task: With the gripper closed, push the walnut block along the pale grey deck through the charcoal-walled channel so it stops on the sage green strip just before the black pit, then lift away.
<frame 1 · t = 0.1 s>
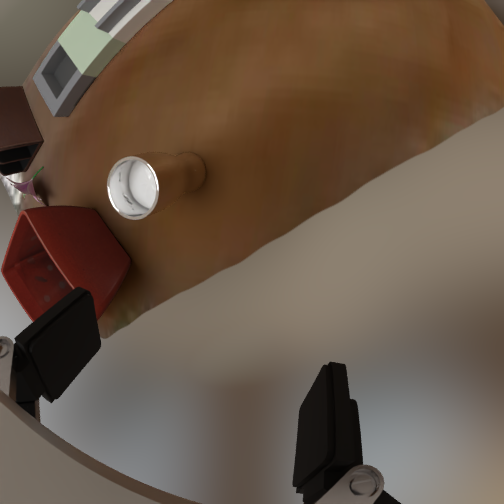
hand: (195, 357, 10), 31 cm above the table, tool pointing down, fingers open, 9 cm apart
beer glass: (187, 172, 39), on the table
lily: (41, 184, 44), on the table
channel deck: (135, 1, 28), on the table
plant pot: (97, 251, 47), on the table
letter holder: (23, 126, 40), on the table
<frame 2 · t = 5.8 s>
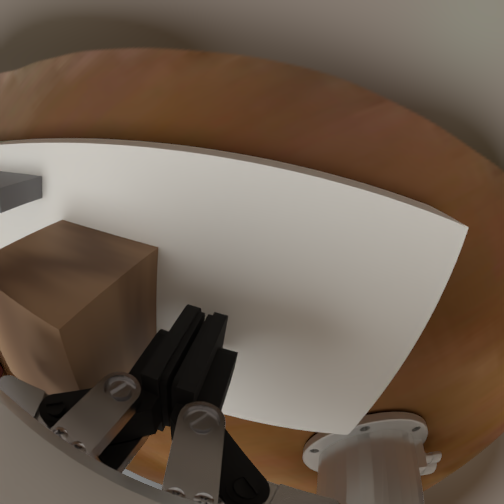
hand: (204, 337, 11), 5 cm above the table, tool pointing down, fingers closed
channel deck: (57, 231, 17), on the table
walnut block: (106, 287, 12), point 4 cm above the table, touching gripper
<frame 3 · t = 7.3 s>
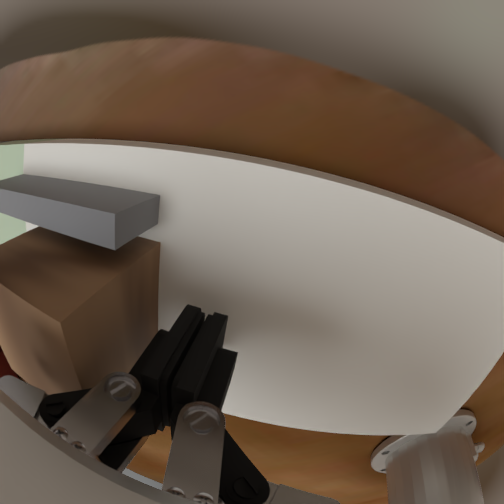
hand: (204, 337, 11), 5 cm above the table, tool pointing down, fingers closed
channel deck: (136, 255, 16), on the table
walnut block: (107, 283, 12), point 4 cm above the table, touching gripper
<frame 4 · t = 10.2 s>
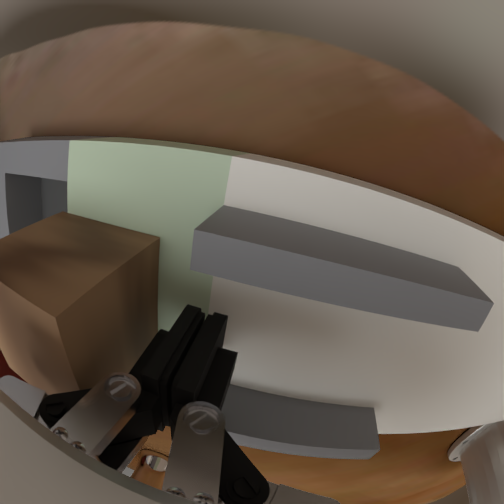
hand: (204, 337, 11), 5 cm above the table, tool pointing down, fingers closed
beer glass: (160, 458, 29), on the table
channel deck: (339, 305, 15), on the table
walnut block: (106, 280, 12), point 4 cm above the table, touching channel deck, gripper
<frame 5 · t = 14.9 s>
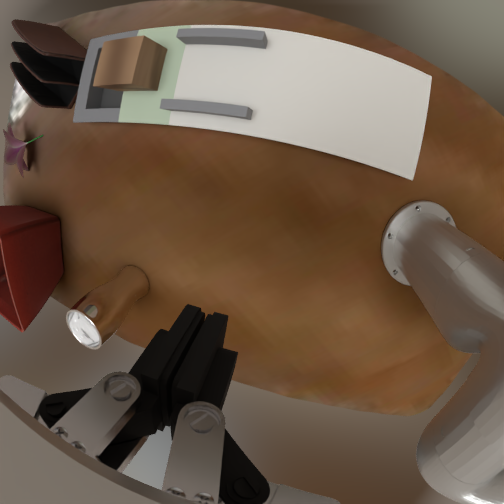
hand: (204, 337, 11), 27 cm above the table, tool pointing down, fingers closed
beer glass: (135, 280, 44), on the table
lily: (34, 145, 38), on the table
channel deck: (237, 82, 30), on the table
plant pot: (44, 238, 46), on the table
letter holder: (64, 63, 31), on the table
walnut block: (142, 70, 27), point 4 cm above the table, touching channel deck
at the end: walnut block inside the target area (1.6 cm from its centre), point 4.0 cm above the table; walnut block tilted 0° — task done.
